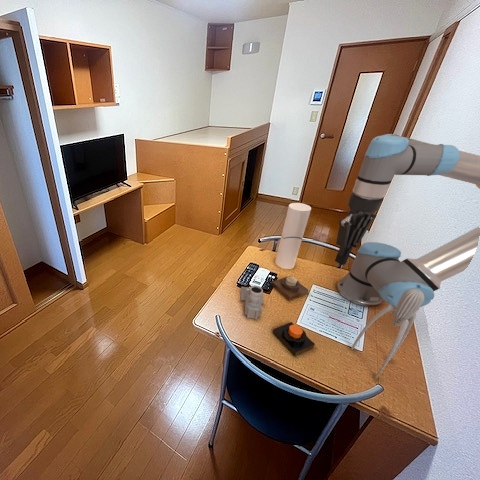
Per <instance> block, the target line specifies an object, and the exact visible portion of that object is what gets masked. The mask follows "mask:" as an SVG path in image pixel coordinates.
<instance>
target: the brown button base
mask: <svg viewBox="0 0 480 480" xmlns="http://www.w3.org/2000/svg"><path fill="white" fill-rule="evenodd" d="M290 276H291V275H288V276H285V277H282V278H279V279H276V280H273V281H271V283H270V286H271V287H272V288H273V289H274V290H275V291H276V292H278V293H279V294H280V295H281V296H282V297H283V298H284V299H286V300H287V301H288V302H289V301H291V300H294V299H298V298H300V297H302V296H305V295H308V293H309V289H308V288H307V287H306V286H304V285H303V284H301V283H300V281H299V280H297V283H296V285H295V286H290V285H287V284H286V278H287V277H290Z"/></svg>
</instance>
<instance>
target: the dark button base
mask: <svg viewBox="0 0 480 480" xmlns="http://www.w3.org/2000/svg"><path fill="white" fill-rule="evenodd" d="M291 325H295V324H294V323H293V322H292V321H289V322H288V323H285V324H283V325H280V326H278V327H275V328H273V330H272V335H274V337H275V338H276V339H277V340H278V341H279V342H280V343H281V344H282V346H284V347H285V349H287V351H289V353H291V355H292V356H293V357H296V356H299V355H301V354H303V353H305V352H308V351H310V350H312V349H314V347H315V345H316V344H315V342H313V341H312V340H311V339H310V338H309V337H308V336H307V333H306V331H305V330H304V328H302V327H301V329H302V330H303V333H302V335H301V337H300V338H294V337H291V336H290V335H289V333H288V330H289V327H290V326H291Z"/></svg>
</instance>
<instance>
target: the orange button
mask: <svg viewBox="0 0 480 480" xmlns="http://www.w3.org/2000/svg"><path fill="white" fill-rule="evenodd" d="M301 328H302V327H301V326H300V325H297V324H294V325H291V326H290V327H289V330H288V333H289V335H290V336H291V337H294V338H300V337H301V335H302V333H303V330H304V329H303V328H302V329H303V330H302V329H301Z"/></svg>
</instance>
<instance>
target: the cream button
mask: <svg viewBox="0 0 480 480" xmlns="http://www.w3.org/2000/svg"><path fill="white" fill-rule="evenodd" d="M289 276H290V277H288V276H286V277H287V278H286V284H287V285H290V286H295V285H296V283H297V281H298V279H297V278H296V277H294V276H292V275H289Z"/></svg>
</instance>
